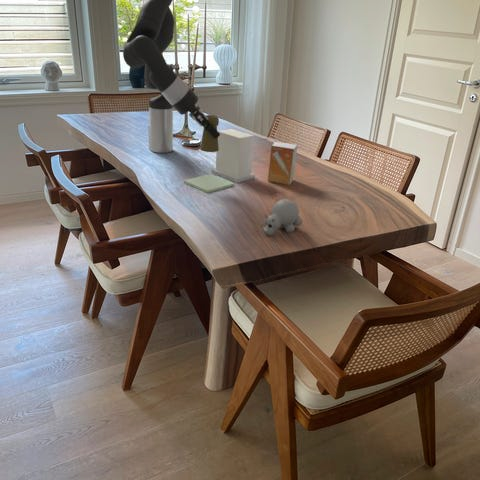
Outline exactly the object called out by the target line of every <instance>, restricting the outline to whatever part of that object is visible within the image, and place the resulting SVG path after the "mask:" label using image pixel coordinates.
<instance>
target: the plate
mask: <svg viewBox="0 0 480 480" xmlns="http://www.w3.org/2000/svg"><path fill="white" fill-rule="evenodd" d="M183 183H184V184H186V185H188V186H191V187H193V188H196V189H197V190H199V191H202V192H205V193H207V194H209V193H213V192H216V191H220V190H223V189H226V188H227V189H228V188H229V187H234V186H235V182H234V183H233V181H232V182H231V181H230V180H229V181H228V179H225V178H223V177H222V178H221V177H220V176H218V175H217V176H216V175H215V174H213V173H210V174H205V175H200V176H197V177H192V178H188V179H185V180H183Z"/></svg>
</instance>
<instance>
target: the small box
mask: <svg viewBox="0 0 480 480" xmlns="http://www.w3.org/2000/svg"><path fill="white" fill-rule="evenodd" d="M270 148H271V149H270V157H269V165H268V166H269V167H268V173H267V174H268V176H267V182H270V183H271V182H272V183H277V184H281V185H282V184H283V185H287V184H288V186H290V185H291V183H292V182H293V181H294V177H295V176H294V175H295V167H296V160H297V159H296V158H297V152H298V144H294V143H289V142H287V143H286V142H280V141H275V142H273V144H272V145H271V147H270Z"/></svg>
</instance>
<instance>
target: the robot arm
mask: <svg viewBox="0 0 480 480" xmlns="http://www.w3.org/2000/svg"><path fill="white" fill-rule="evenodd" d="M173 1H174V0H145V2H144V3H143V4H142V6H141V8H140V10H139V12H138V16H137V18H136V22H135V25H134V27H133V29H132V30H131V32H130V34H129V36H128V38H127V40H126V42H125V44H124V47H123V50H122V55H123V56H122V57H123V60H124V63H126V65H127V66H128V67H130V68H132V69H140V68H142V67H143V66H144V84H145V87H146V88H148V89H151V90H158V91H159V92H160V93H161V94H159V95H158V96H155V97H152V98H150V99H149V100H148V101H149V102H148V114H149V118H148V119H149V125H148V149H149V150H150V151H151V152H152V153H153V152H154V153H158V154H159V153H160V154H161V153H163V154H166V153H171V152H173V149H174V148H173V147H174V133H173V132H174V111H173V109H175V110H176V112H178V113H179V115H182V116H183V115H186V114H187V113H189V114H188V116H190V118H191V119H192V120H193V121H195V122H196V123H197V124H198V125H199V127H203V129H204V128H205V130H206V131H208V132H209V133H210V134H211V135H212V136H213V137H214V138H215V139H217V138H218V137H219V136H220V133H219V132H218V131H219V130H218V129H217V130H216V129H215V128H214V127H213V125H212V124H211V123H210V122H209V121H208V118H207V116H206V114H205V113H204V111H203V109H201V107H200V106H199V105H197V106H196V104H197V103H198V101H199V96H198V95H197V94H196V93H195V92H194V91H193V90H192V89H191V88H190V87H189V86H188V85H187V83H186V82H185V81H184V80H183V79H182V78H180V77H179V76H178V74H176V72H174V68H173V66H172V65H171V64H169V63H167V61H166V60H165V57H164V56H163V53H164V52H165V51H166V50H167V49H168V47H169V46H170V45H171V43H172V41H173V39H174V33H175V17H174V15H173V13H172V10H171V8H170V6H171V4H172V2H173ZM206 123H209V125H208V126H207V127H205V126H204V125H205V124H206Z"/></svg>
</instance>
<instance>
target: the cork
mask: <svg viewBox="0 0 480 480" xmlns="http://www.w3.org/2000/svg"><path fill="white" fill-rule="evenodd" d="M205 115H206V114H205ZM206 116H207V118H208V121H209V122H210V123H211V124H212V125H213V127H214V128H215V129H216V130H217V131H218V126H219V123H220V120H219V117H218V116H217V115H213V114H207V115H206ZM208 125H209V123H206V124H205V125H204V126H205V127H207V126H208ZM199 149H200V151H202V152H206V153H217V151H219V148H218V138H217V139H215V138H214V137H213V136H212V135H211V134H210V133H209V132H208V131H206V130H205V128H204V127H203V131H202V137H201V143H200V148H199Z"/></svg>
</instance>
